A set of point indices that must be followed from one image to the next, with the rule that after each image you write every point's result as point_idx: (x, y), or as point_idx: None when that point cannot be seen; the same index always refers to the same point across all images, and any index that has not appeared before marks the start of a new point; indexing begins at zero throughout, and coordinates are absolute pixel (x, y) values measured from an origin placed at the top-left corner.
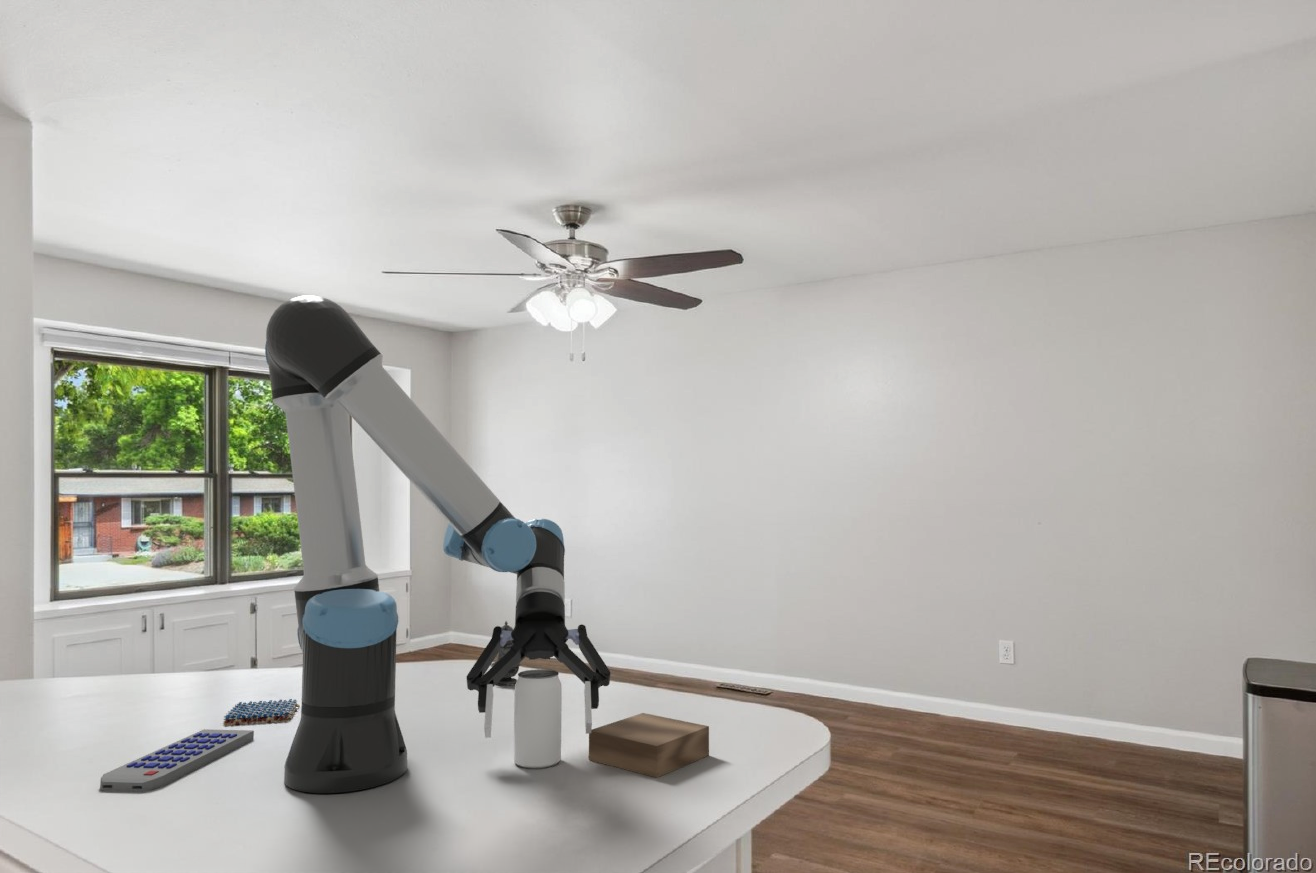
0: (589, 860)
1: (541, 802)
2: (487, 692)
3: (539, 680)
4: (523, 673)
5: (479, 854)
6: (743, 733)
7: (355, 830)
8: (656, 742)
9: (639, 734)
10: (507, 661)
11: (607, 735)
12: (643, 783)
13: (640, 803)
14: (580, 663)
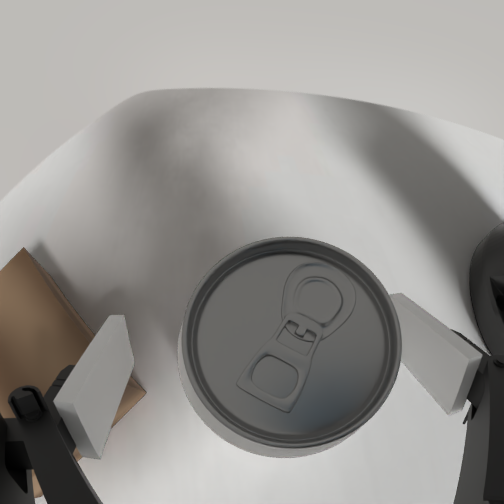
0: (185, 90)
1: (233, 189)
2: (461, 340)
3: (275, 248)
4: (383, 383)
5: (281, 98)
6: None
7: (416, 148)
8: (17, 267)
9: (25, 327)
10: (492, 450)
11: (86, 338)
12: (74, 252)
13: (101, 184)
14: (57, 484)
